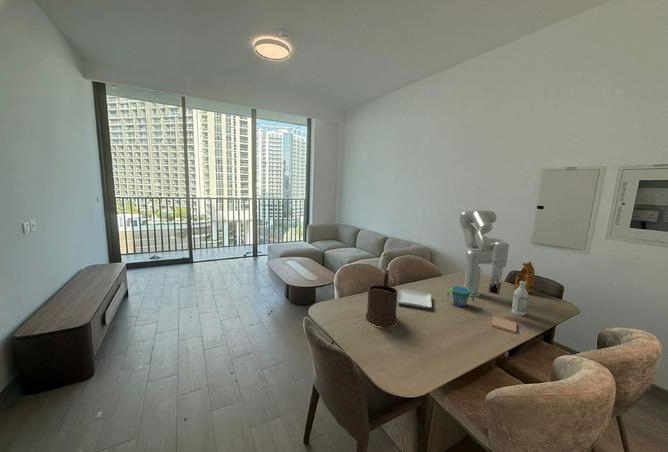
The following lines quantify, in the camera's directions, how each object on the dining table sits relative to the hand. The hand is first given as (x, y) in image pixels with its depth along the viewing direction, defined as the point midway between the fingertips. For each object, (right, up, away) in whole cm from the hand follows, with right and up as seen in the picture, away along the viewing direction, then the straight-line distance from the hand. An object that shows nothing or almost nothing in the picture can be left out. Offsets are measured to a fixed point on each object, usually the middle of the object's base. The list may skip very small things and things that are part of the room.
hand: (494, 290), depth 156 cm
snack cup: (-16, -12, +11) cm, 22 cm away
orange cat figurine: (+44, -9, +36) cm, 58 cm away
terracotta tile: (-3, -16, -14) cm, 21 cm away
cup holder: (-69, -13, -8) cm, 71 cm away
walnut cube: (0, -1, 0) cm, 1 cm away
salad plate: (-44, -11, +14) cm, 48 cm away
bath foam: (+15, -14, +1) cm, 21 cm away
